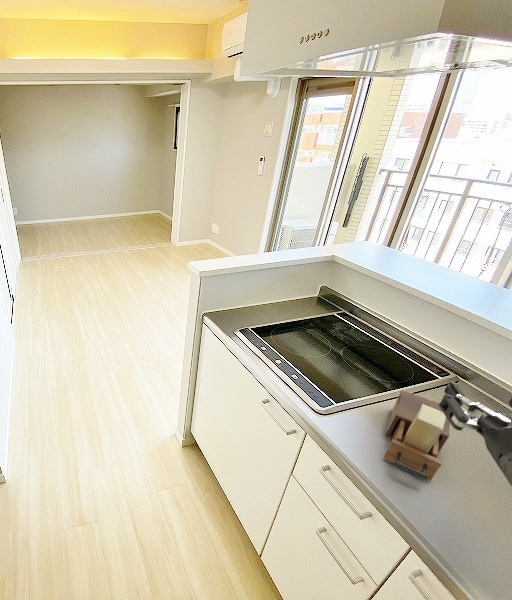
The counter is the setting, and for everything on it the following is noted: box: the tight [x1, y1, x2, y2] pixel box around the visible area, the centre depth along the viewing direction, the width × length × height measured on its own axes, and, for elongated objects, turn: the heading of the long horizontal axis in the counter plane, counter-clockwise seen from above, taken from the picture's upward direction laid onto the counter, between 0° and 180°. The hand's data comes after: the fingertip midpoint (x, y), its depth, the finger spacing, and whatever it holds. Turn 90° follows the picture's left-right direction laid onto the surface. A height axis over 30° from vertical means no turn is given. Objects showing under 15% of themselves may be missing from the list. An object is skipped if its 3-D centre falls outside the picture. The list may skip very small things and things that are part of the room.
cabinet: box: [385, 389, 451, 454], centre depth 83 cm, size 12×10×8 cm
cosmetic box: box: [401, 404, 446, 454], centre depth 74 cm, size 6×4×12 cm
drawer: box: [383, 420, 443, 482], centre depth 75 cm, size 15×8×6 cm, turn 136°
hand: (481, 392), depth 59 cm, fingers open, 8 cm apart
